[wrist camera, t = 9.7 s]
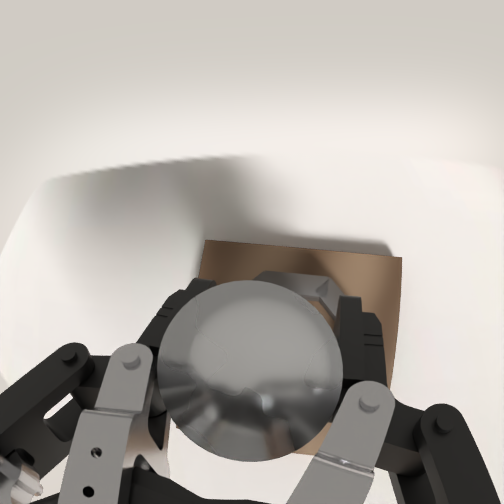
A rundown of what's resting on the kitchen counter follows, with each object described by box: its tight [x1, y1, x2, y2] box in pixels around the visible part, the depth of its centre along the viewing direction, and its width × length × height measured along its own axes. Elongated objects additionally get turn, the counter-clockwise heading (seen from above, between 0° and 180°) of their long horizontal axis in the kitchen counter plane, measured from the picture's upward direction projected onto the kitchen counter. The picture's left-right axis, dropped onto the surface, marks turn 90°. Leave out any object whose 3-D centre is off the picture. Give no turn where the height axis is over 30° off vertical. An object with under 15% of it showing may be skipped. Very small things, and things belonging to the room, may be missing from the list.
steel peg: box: [157, 280, 343, 462], centre depth 10 cm, size 4×4×8 cm
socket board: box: [176, 240, 402, 455], centre depth 19 cm, size 14×14×4 cm
